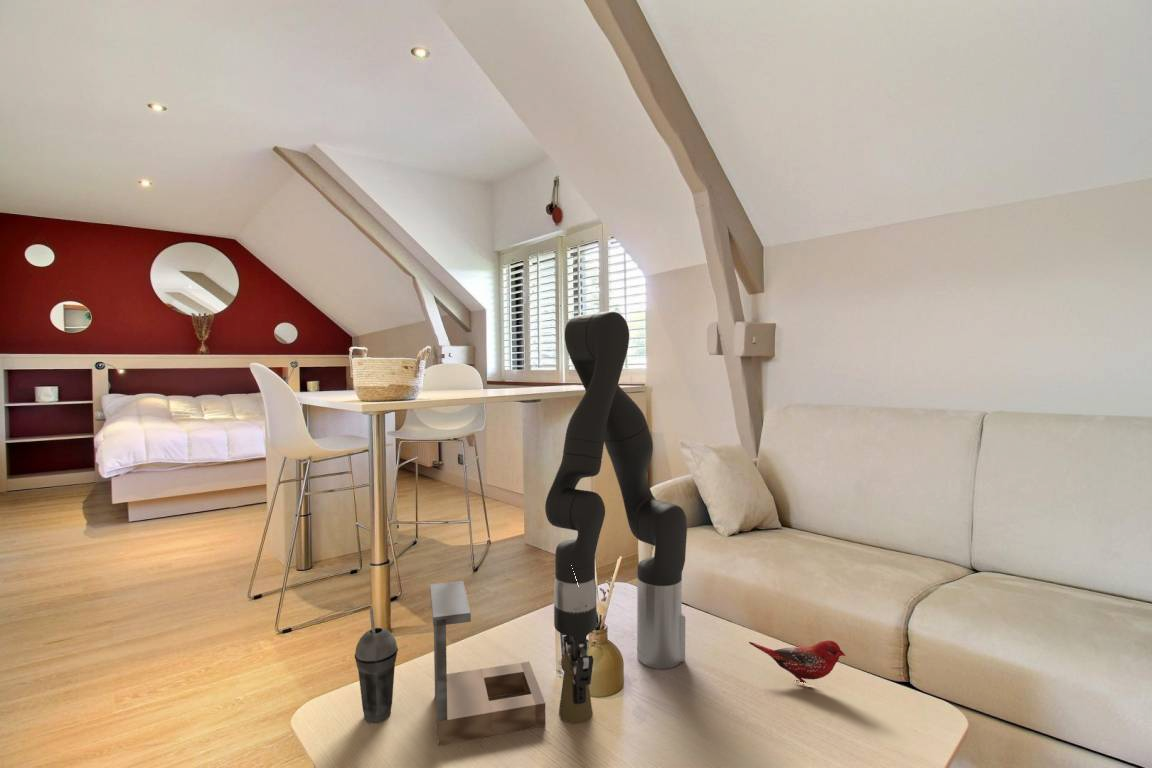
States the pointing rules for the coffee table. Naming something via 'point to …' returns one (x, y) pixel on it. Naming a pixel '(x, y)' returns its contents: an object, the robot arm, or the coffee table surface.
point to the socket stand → (477, 682)
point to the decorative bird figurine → (806, 659)
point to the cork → (567, 706)
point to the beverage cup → (376, 672)
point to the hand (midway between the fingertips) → (575, 694)
